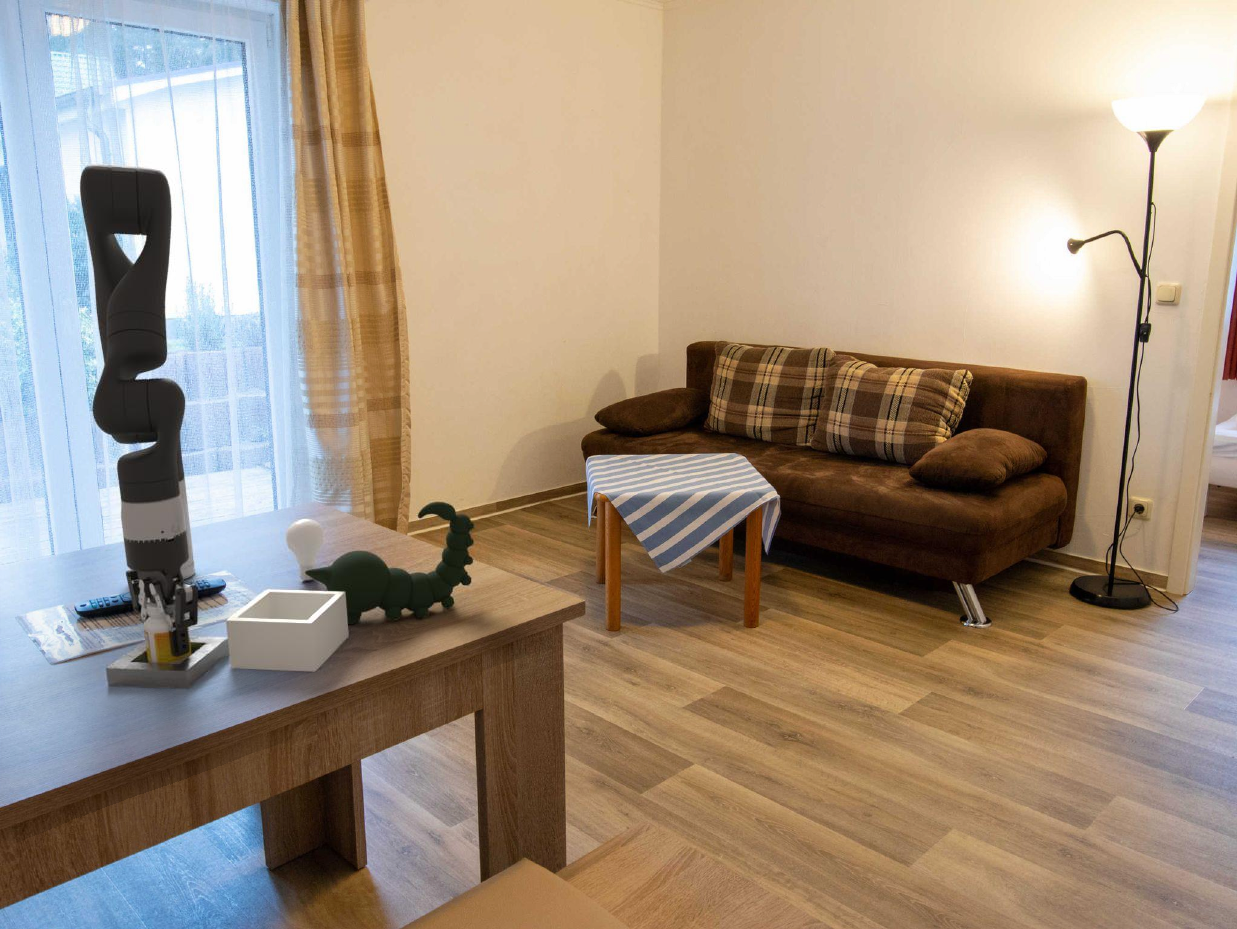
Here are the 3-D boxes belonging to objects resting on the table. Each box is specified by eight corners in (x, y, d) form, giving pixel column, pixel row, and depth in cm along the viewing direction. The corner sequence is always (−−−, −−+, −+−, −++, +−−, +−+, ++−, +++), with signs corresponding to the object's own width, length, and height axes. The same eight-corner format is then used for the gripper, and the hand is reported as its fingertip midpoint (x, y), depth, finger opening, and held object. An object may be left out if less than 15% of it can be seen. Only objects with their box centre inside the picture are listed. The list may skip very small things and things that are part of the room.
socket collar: (108, 685, 125) (106, 668, 124) (156, 651, 136) (154, 634, 135) (187, 688, 124) (185, 671, 123) (229, 654, 134) (228, 637, 134)
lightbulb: (333, 574, 167) (329, 514, 165) (319, 587, 161) (314, 525, 158) (299, 573, 168) (294, 513, 165) (283, 586, 161) (277, 524, 159)
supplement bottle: (201, 663, 131) (194, 597, 129) (171, 680, 126) (163, 611, 124) (170, 658, 133) (162, 593, 131) (140, 674, 128) (131, 606, 126)
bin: (230, 668, 130) (225, 620, 128) (270, 633, 141) (266, 589, 140) (315, 671, 129) (311, 623, 127) (348, 636, 140) (345, 591, 139)
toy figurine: (461, 605, 157) (302, 613, 148) (467, 494, 153) (304, 495, 144) (474, 626, 148) (306, 636, 139) (480, 508, 145) (308, 511, 135)
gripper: (98, 527, 126) (114, 646, 130) (156, 546, 118) (171, 672, 122) (153, 515, 132) (166, 628, 136) (211, 532, 124) (224, 652, 128)
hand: (168, 648), depth 129 cm, fingers closed on supplement bottle, 5 cm apart
